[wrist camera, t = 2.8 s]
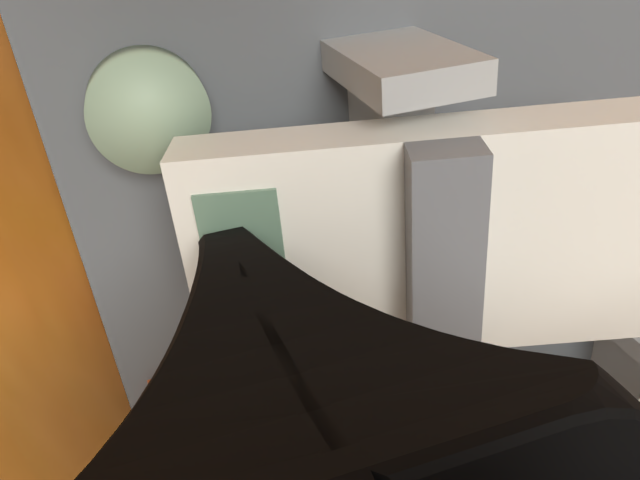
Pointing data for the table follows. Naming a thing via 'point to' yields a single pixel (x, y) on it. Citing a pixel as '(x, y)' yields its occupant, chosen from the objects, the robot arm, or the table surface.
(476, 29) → the breaker panel
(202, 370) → the robot arm
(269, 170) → the rocker
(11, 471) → the table surface
